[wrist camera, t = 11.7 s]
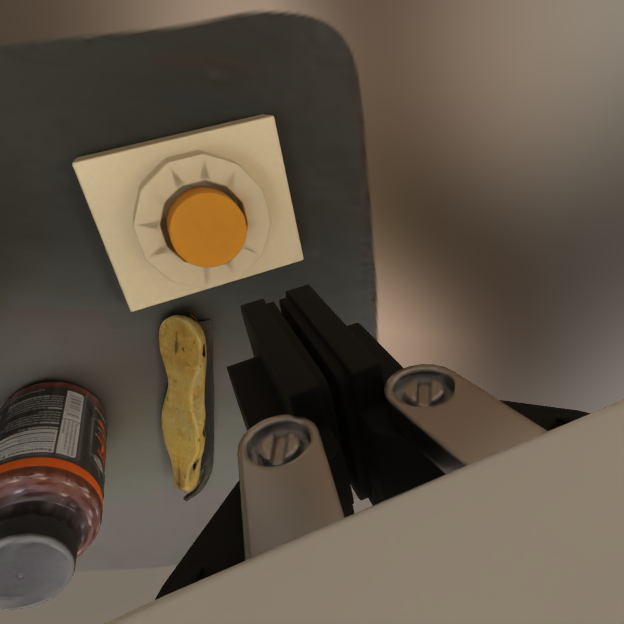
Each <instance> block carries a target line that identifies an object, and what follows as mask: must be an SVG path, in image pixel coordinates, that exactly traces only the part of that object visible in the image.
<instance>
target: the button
mask: <svg viewBox="0 0 624 624" xmlns="http://www.w3.org/2000/svg"><path fill="white" fill-rule="evenodd" d="M167 229H168V233H169V236H170V240H171V243H172V245H173V247H174V249H175V250H176V252H177V253H178V254H179V255H180V256H181V257H182V258H183V259H184V260H185V261H187V262H189V263H190V264H193V265H195V266H199V267H208V268H210V267H217V266H220V265H223V264H225V263H227V262H229V261H230V260H232V259H233V258H234V257H235V256H236V255H237V254H238V253H239V252H240V250H241V249H242V247H243V245H244V242H245V239H246V233H247V226H246V220H245V217H244V215H243V213H242V211H241V209H240V208H239V207H238V205H237V204H236V203H235V202H234V201H233V200H232V199H231V198H230V197H229V196H228V195H226V194H225V193H224V192H222V191H220V190H218V189H215V188H212V187H206V186H200V187H194V188H191V189H188V190H186V191H184V192H183V193H181V194H180V195H179V196H178V197H177V198H176V199H175V200H174V201H173V203H172V204H171V206H170V208H169V211H168V214H167Z"/></svg>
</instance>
